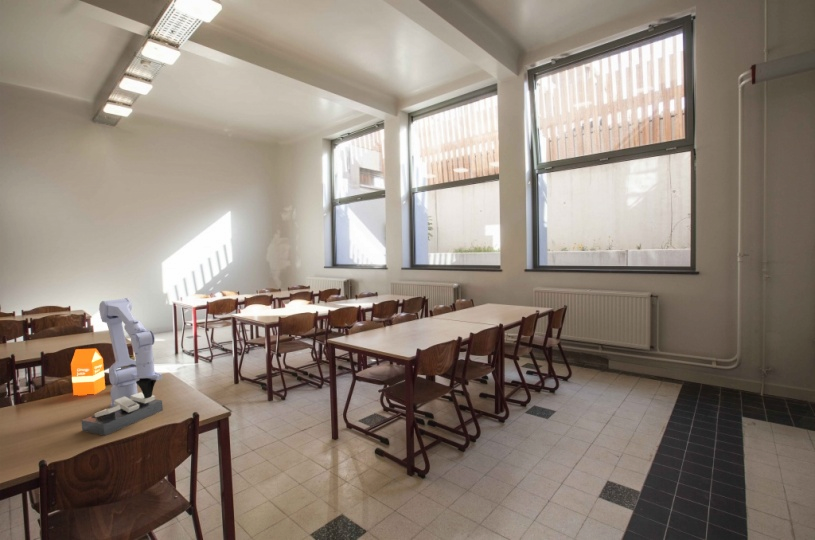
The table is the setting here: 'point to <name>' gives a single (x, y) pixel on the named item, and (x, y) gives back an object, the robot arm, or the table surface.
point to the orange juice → (87, 372)
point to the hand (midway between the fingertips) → (148, 397)
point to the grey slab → (120, 418)
